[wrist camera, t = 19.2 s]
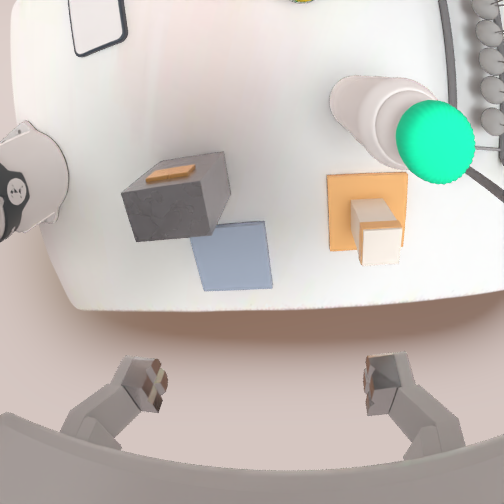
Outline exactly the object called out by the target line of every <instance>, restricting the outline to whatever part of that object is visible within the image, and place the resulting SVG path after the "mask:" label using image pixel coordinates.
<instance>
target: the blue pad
mask: <svg viewBox="0 0 504 504" xmlns="http://www.w3.org/2000/svg"><path fill="white" fill-rule="evenodd" d="M190 241H191V244H192V248H193V252H194V256H195V260H196V263H197V267H198V271H199V275H200V278H201V282H202V285H203V289H204V291H225V290H249V289H271V288H272V287H273V283H272V275H271V268H270V260H269V252H268V245H267V237H266V230H265V223H264V221H259V222H247V223H234V224H222V225H216V227H215V230H214V232H213V234H212V236H201V237H190Z"/></svg>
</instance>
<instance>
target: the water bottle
mask: <svg viewBox="0 0 504 504" xmlns="http://www.w3.org/2000/svg"><path fill="white" fill-rule="evenodd" d="M330 109H331V112H332V114H333V116H334V117H335V119H336V120H337V121H338V122H339V123H340V124H341V125H342V126H343V127H344V128H345V129H346V130H348V131H349V132H350V133H351V134H352V135H353V137H354V138H355V139H356V140H357V141H358V142H359V143H360V144H362V145H363V146H364V147H365V148H366V150H367V151H368V152H369V153H370V155H371V156H372V157H374V158H375V159H376V160H377V161H379V162H380V163H382V164H384V165H386V166H388V167H391V168H394V169H400V170H410V171H411V172H412V173H414V174H415V175H416V176H418V177H419V178H421V179H423V180H424V181H428V182H430V183H435V184H446V183H451V182H452V181H456V180H457V179H458V178H460V177H462V174H464V173H465V172H466V169H468V168H469V165H470V164H471V163H472V158H473V157H474V152H475V141H474V139H475V136H474V134H473V129H472V128H471V125H470V123H469V122H468V121H467V118H466V117H465V116H464V115H463V114H462V113H461V112H460V111H459V110H457V109H456V108H455V107H453V106H451V105H450V104H448V103H445V102H442V101H438V100H437V98H436V97H435V95H434V94H433V93H432V92H431V91H430V90H429V89H428V88H426V87H425V86H423V85H422V84H420V83H418V82H416V81H414V80H411V79H407V78H398V77H397V78H390V77H381V76H373V77H371V76H359V75H354V76H348V77H345V78H343V79H341V80H340V81H339V82H338V83H337V84H336V85H335V86H334V87H333V89H332V91H331V94H330Z"/></svg>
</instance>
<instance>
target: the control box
mask: <svg viewBox="0 0 504 504" xmlns="http://www.w3.org/2000/svg"><path fill="white" fill-rule="evenodd" d="M121 195H122V198H123V201H124V205H125V208H126V211H127V215H128V218H129V221H130V224H131V227H132V230H133V234H134V237H135V240H136V242H142V241H154V240H165V239H177V238H189V237H201V236H212V234H213V232H214V230H215V227H216V225H217V223H218V221H219V219H220V216H221V214H222V212H223V210H224V208H225V206H226V203H227V201H228V199H229V197H230V195H231V191H230V185H229V180H228V174H227V168H226V163H225V157H224V152H217V153H210V154H203V155H196V156H189V157H183V158H177V159H171V160H165V161H160V162H159V163H158V164H156V165H155V166H154V167H153V168H151V169H150V170H149V171H147V172H146V173H145V174H144V175H142V176H141V177H140V178H139V179H137V180H136V181H135V182H134V183H132V184H131V185H130V186H129V187H128V188H126V189H125V190H124V191H123V192H122V193H121Z"/></svg>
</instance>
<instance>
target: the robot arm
mask: <svg viewBox="0 0 504 504" xmlns="http://www.w3.org/2000/svg"><path fill="white" fill-rule="evenodd" d="M67 189H68V171H67V166H66V162H65V159H64V157H63V154H62V152H61V151H60V149H59V147H58V146H57V145H56V143H55V142H54V141H53V140H52V139H51V138H50V137H48V136H47V135H45V134H43V133H41V132H38V131H37V130H35V128H34V127H33V126H32V125H31V124H30V123H29V122H28V121H24V122H22V123H20V124H19V125H18V126H17V127H16V128H15V129H14V130H12V131H11V132H10V133H9V134H8V135H7V136H6V137H5V138H4V139H3V140H2V141H1V142H0V242H2V241H3V240H4V239H7V238H8V237H9V236H10V235H11V234H12V233H13V232H14V231H17V232H23V233H26V232H28V231H29V230H31V229H32V228H33V227H35V226H36V225H38V224H39V223H54V222H55V221H57V219H58V213H59V207H60V205H61V203H62V202H63V200H64V198H65V196H66V193H67ZM160 367H161V363H160V361H159V360H158V359H154V358H144V357H135V356H125V357H123V359H122V361H121V363H120V365H119V367H118V369H117V371H116V373H115V375H114V377H113V379H112V381H111V383H110V384H106V385H105V386H104V387H102V388H101V389H100V390H98V391H97V392H95V393H94V394H93V395H91V396H90V397H88V398H87V399H86V400H84V401H83V402H81V403H80V404H79V405H77V406H76V407H75V408H73V409H72V410H70V412H69V414H68V416H67V418H66V420H65V422H64V424H63V426H62V428H61V430H60V432H57V431H54V430H51V429H49V428H46V427H44V426H41V425H38V424H36V423H33V422H31V421H29V420H26V419H24V418H21V417H19V416H17V415H15V414H12V413H9V412H6V413H4V414H1V415H0V504H504V434H503V435H500V436H497V437H494V438H491V439H488V440H485V441H482V442H479V443H475V444H472V445H469V446H465V442H464V438H463V434H462V431H461V427H460V423H459V419H458V418H457V417H456V416H455V415H454V414H452V413H451V412H450V411H449V410H448V409H447V408H445V407H444V406H443V405H442V404H441V403H440V402H438V400H436V399H435V398H434V397H433V396H432V395H431V394H430V393H428V392H427V391H426V390H425V389H424V388H423V387H421V386H420V385H416V384H415V380H414V377H413V373H412V369H411V366H410V362H409V359H408V355H407V353H406V352H405V351H404V352H396V353H386V354H378V355H369V356H367V357H366V368H365V369H364V377H363V384H364V392H365V393H366V394H367V398H366V409H367V415H368V416H372V415H382V414H389V416H390V417H391V418H392V420H393V421H394V422H395V423H396V424H397V426H399V428H400V429H401V430H402V431H403V433H404V434H405V435H406V436H407V437H408V439H409V440H410V441H411V442H412V444H411V446H410V447H409V449H408V450H407V452H406V454H405V455H404V456H403V458H404V461H399V462H392V463H386V464H378V465H371V466H362V467H352V468H341V469H328V470H327V469H326V470H302V471H301V470H300V471H276V470H248V469H233V468H221V467H211V466H202V465H195V464H187V463H181V462H174V461H168V460H162V459H157V458H152V457H147V456H142V455H137V454H133V453H129V452H124V451H121V448H122V447H121V445H120V444H119V443H118V442H117V441H116V440H115V439H114V438H115V437H116V436H117V435H118V434H119V433H120V432H121V431H122V430H123V429H124V428H125V427H126V426H127V425H128V424H129V423H130V422H131V421H132V420H133V419H134V418H135V417H136V416H137V415H138V414H139V413H140V412H141V411H146V412H154V413H159V410H160V407H161V404H162V401H163V400H162V397H161V395H163V394H164V393H165V392H166V389H167V386H168V378H167V374H166V372H165V371H164V370H163V369H161V368H160Z"/></svg>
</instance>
